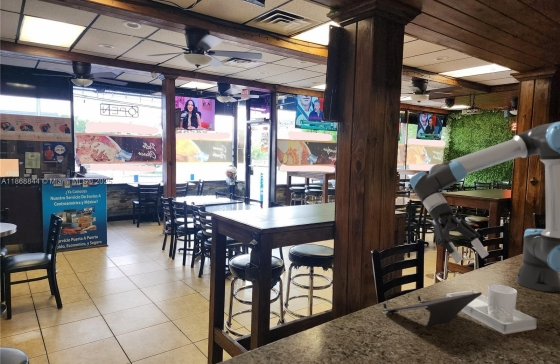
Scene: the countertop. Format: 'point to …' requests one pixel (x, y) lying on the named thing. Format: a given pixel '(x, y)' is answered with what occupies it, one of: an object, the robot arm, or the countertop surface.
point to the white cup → (501, 302)
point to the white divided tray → (480, 313)
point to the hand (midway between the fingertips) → (472, 258)
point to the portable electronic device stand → (439, 308)
